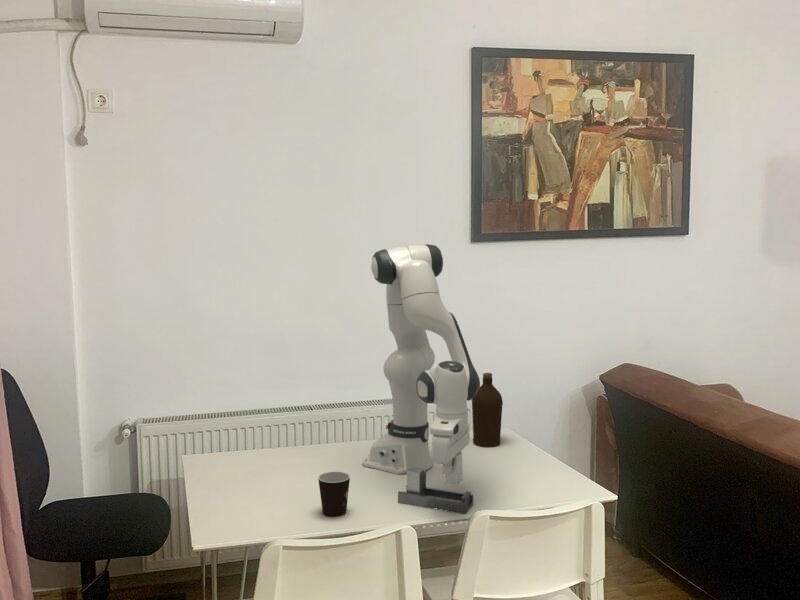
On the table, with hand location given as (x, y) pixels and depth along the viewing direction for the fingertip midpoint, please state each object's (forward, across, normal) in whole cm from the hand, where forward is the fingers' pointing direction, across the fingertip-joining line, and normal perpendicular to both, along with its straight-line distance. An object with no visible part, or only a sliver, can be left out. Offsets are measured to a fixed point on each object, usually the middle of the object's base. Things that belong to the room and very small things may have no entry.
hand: (452, 470), depth 212 cm
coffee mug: (+10, +15, -28) cm, 34 cm away
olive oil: (+11, -59, -9) cm, 61 cm away
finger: (+3, 0, 0) cm, 3 cm away
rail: (+10, 0, -5) cm, 12 cm away
